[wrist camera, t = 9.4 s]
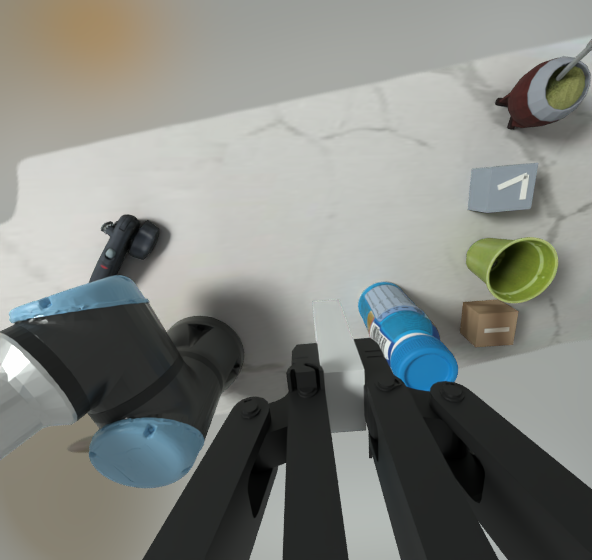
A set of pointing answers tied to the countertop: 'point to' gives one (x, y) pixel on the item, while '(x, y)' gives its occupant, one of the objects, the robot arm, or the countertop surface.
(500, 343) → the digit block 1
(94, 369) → the robot arm
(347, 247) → the countertop surface
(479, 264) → the plant pot
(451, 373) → the beverage bottle
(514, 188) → the digit block 7
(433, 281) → the countertop surface
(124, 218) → the can opener
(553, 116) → the mate gourd
